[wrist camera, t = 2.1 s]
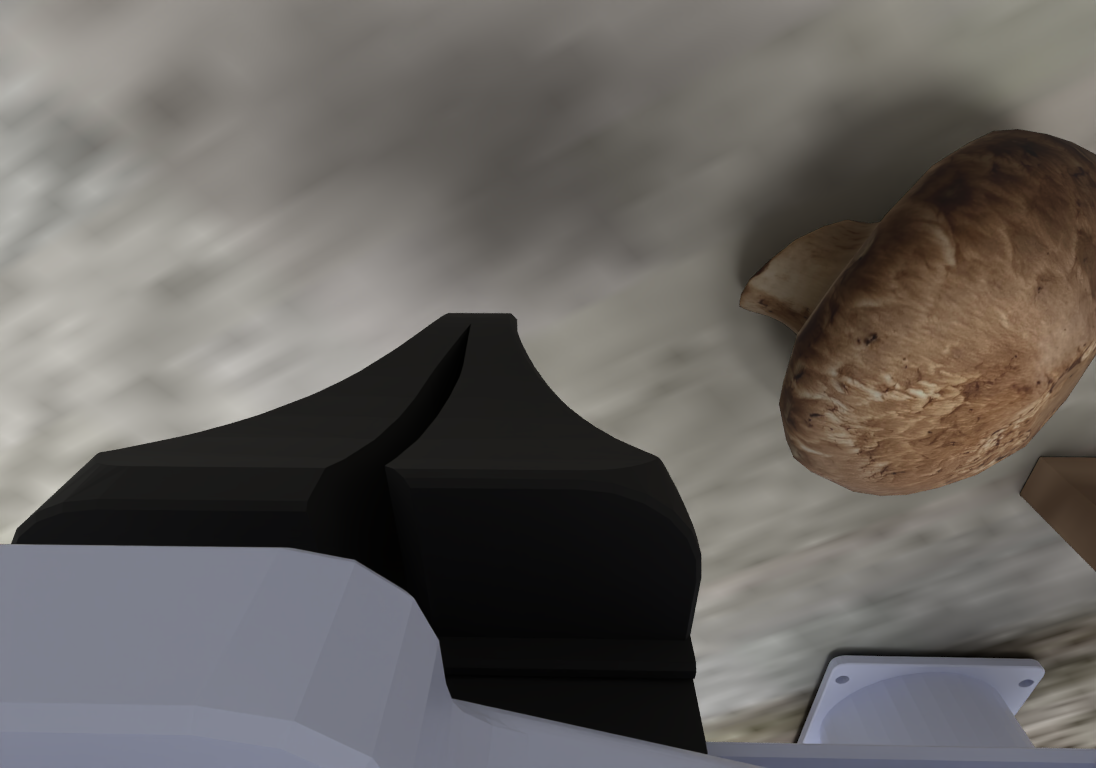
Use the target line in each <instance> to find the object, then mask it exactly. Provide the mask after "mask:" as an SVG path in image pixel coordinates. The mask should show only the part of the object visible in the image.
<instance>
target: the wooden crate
mask: <svg viewBox="0 0 1096 768" xmlns="http://www.w3.org/2000/svg"><path fill="white" fill-rule="evenodd" d="M1020 495H1021V496H1022V497H1023V498H1024V499H1025V500H1026V501H1027V502H1028V503H1029V504H1030V505H1031V506H1032V507H1033V508H1034V510H1035V511H1036V512H1037V513H1038V514H1039V515H1040V516H1041V517H1042V518H1043V519H1044V520H1045V521H1046V522H1047V523H1048V524H1049V525H1050V526H1051V527H1052V528H1053V529H1054V530H1055V531H1056V532H1057V533H1058V534H1059V535H1060V536H1061V537H1062V538H1063V539H1064V540H1065V541H1066V542H1067V543H1068V544H1069V545H1070V546H1071V547H1072V548H1073V549H1074V550H1075V551H1076V552H1077V553H1078V554H1079V555H1080V556H1081V557H1082V558H1083V559H1084V560H1085V561H1086V562H1087V563H1088V564H1089V565H1090V566H1091V567H1092V568H1093V569H1094V570H1095V571H1096V457H1040V458H1039V460H1038V462H1037V464H1036V466H1035V467H1034V469H1033V471H1032V473H1031V475H1030V477H1029V478H1028V480H1027V482H1026V484H1025V486H1024V488H1023V489H1022V491H1021V493H1020Z"/></svg>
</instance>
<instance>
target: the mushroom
mask: <svg viewBox="0 0 1096 768" xmlns="http://www.w3.org/2000/svg"><path fill="white" fill-rule="evenodd" d="M739 305H740V307H742V308H744V309H746V310H749V311H752V312H756V313H759V314H763V315H767V316H770V317H772V318H774V319H776V320H778V321H780V322H782V323H784V324H785V325H786V326H788V327H789V328H790V329H791V330H792V331H793V332H795V333H796V334H797V337H796V340H795V344H794V347H793V351H792V354H791V357H790V361H789V364H788V368H787V371H786V375H785V378H784V381H783V386H782V391H781V396H780V402H779V406H780V411H781V416H782V421H783V426H784V431H785V436H786V440H787V442H788V445H789V447H790V450H791V452H792V455H793V457H794V458H795V459H796V460H797V461H798V462H800V463H801V464H802V465H803V466H805V467H806V468H807V469H808V470H810V471H811V472H813V473H815V474H818V475H820V476H822V477H824V478H826V479H828V480H830V481H832V482H834V483H837V484H839V485H841V486H843V487H845V488H847V489H849V490H851V491H853V492H860V493H866V494H873V495H879V496H887V495H907V494H912V493H917V492H921V491H926V490H930V489H935V488H939V487H942V486H944V485H947V484H950V483H953V482H956V481H959V480H962V479H965V478H968V477H971V476H974V475H977V474H979V473H980V472H982V471H984V470H986V469H987V468H989V467H991V466H992V465H994V464H996V463H998V462H999V461H1001V460H1003V459H1004V458H1006V457H1008V456H1010V455H1011V454H1013V453H1015V452H1016V451H1018V450H1020V449H1022V448H1023V447H1025V446H1026V445H1027V444H1028V443H1029V442H1030V440H1031V439H1032V438H1033V437H1034V436H1035V435H1036V434H1037V432H1038V431H1039V430H1040V429H1041V428H1042V427H1043V426H1044V424H1045V423H1046V422H1047V421H1048V420H1049V419H1050V418H1051V416H1052V415H1053V414H1054V413H1055V412H1056V411H1057V410H1058V408H1059V407H1060V406H1061V405H1062V404H1063V403H1064V402H1065V400H1066V399H1067V398H1068V396H1069V395H1070V393H1071V392H1072V390H1073V389H1074V387H1075V386H1076V384H1077V383H1078V381H1079V380H1080V378H1081V376H1082V375H1083V373H1084V372H1085V370H1086V369H1087V367H1088V366H1089V364H1090V363H1091V361H1092V360H1093V358H1094V357H1095V355H1096V154H1094V153H1092V152H1090V151H1088V150H1086V149H1084V148H1082V147H1080V146H1078V145H1076V144H1074V143H1072V142H1070V141H1066V140H1063V139H1060V138H1057V137H1054V136H1051V135H1048V134H1043V133H1037V132H1031V131H1025V130H1019V129H1014V130H1002V131H993V132H991V133H989V134H986V135H984V136H982V137H980V138H978V139H976V140H974V141H971V142H969V143H968V144H966V145H965V146H963V147H961V148H960V149H958V150H957V151H955V152H953V153H952V154H950V155H949V156H947V157H945V158H944V159H942V160H941V161H939V162H937V163H936V164H934V165H933V166H932V167H931V168H930V169H929V170H928V171H927V172H926V173H925V174H924V175H923V176H922V177H921V178H920V179H919V180H918V181H917V182H916V183H915V184H914V186H913V187H912V188H911V189H910V190H909V191H908V192H907V193H906V194H905V195H904V196H903V197H902V198H901V199H900V200H899V201H898V202H897V203H896V204H895V206H894V207H893V208H892V209H891V210H890V211H889V212H888V213H887V214H886V215H885V216H884V218H883V219H882V220H881V221H880V222H876V223H872V224H871V223H865V222H858V221H851V220H844V221H841V222H837V223H834V224H830V225H826V226H823V227H821V228H819V229H817V230H815V231H813V232H811V233H809V234H807V235H804V236H802V237H800V238H798V239H796V240H795V241H793V242H792V243H791V244H789V245H788V246H787V247H786V248H784V249H783V250H782V251H781V252H779V253H778V254H777V255H776V256H774V257H773V258H772V259H770V260H769V261H768V262H767V263H766V264H765V265H764V266H763V267H762V268H761V269H760V270H759V271H758V272H757V273H756V274H755V275H754V276H753V277H752V278H751V279H750V280H749V282H748V283H747V285H746V287H745V288H744V290H743V292H742V294H741V298H740V304H739Z"/></svg>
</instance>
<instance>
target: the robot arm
mask: <svg viewBox="0 0 1096 768" xmlns="http://www.w3.org/2000/svg"><path fill="white" fill-rule="evenodd" d="M700 582H701V551H700V548H699V544H698V539H697V536H696V533H695V530H694V527H693V524H692V522H691V519H690V517H689V515H688V512H687V510H686V508H685V505H684V503H683V501H682V499H681V497H680V495H679V492H678V490H677V488H676V486H675V484H674V482H673V481H672V479H671V477H670V475H669V473H668V471H667V469H666V468H665V466H664V464H663V462H662V461H661V460H660V458H659V457H657V456H654V455H652V454H650V453H647V452H645V451H643V450H640V449H638V448H636V447H634V446H631V445H629V444H627V443H624V442H622V441H620V440H618V439H616V438H614V437H612V436H610V435H609V434H607V433H605V432H603V431H602V430H600V429H598V428H597V427H595V426H593V425H592V424H590V423H589V422H587V421H586V420H584V419H583V418H582V417H580V416H579V415H578V414H577V413H575V412H574V411H573V410H572V409H570V408H569V407H568V406H567V405H566V404H565V403H564V402H563V401H562V400H561V399H560V398H559V397H558V396H557V395H556V394H555V393H554V392H553V391H552V390H551V388H550V387H549V386H548V385H547V383H546V382H545V381H544V380H543V378H542V377H541V375H540V374H539V372H538V371H537V370H536V368H535V367H534V365H533V363H532V362H531V360H530V358H529V356H528V354H527V353H526V351H525V349H524V347H523V345H522V342H521V340H520V338H519V335H518V332H517V319H516V318H515V317H514V316H513V315H512V314H511V313H448V314H446V315H444V316H442V317H440V318H439V319H437V320H436V321H435V322H433V323H432V324H430V325H429V326H428V327H426V328H425V329H423V330H422V331H421V332H419V333H418V334H416V335H415V336H414V337H412V338H411V339H409V340H408V341H406V342H405V343H404V344H402V345H401V346H399V347H398V348H396V349H395V350H393V351H392V352H390V353H389V354H387V355H385V356H384V357H382V358H381V359H379V360H377V361H376V362H374V363H372V364H371V365H369V366H368V367H366V368H364V369H363V370H361V371H359V372H358V373H356V374H354V375H352V376H350V377H348V378H346V379H344V380H343V381H341V382H339V383H336V384H334V385H332V386H330V387H328V388H326V389H324V390H322V391H320V392H317V393H315V394H313V395H310V396H308V397H305V398H303V399H300V400H297V401H295V402H292V403H290V404H287V405H284V406H282V407H279V408H276V409H274V410H271V411H268V412H266V413H263V414H260V415H257V416H254V417H251V418H247V419H244V420H241V421H238V422H234V423H231V424H228V425H224V426H220V427H216V428H213V429H209V430H205V431H202V432H198V433H194V434H189V435H185V436H181V437H176V438H172V439H167V440H162V441H157V442H152V443H147V444H142V445H137V446H132V447H127V448H122V449H117V450H112V451H106V452H100V453H98V454H97V455H95V456H94V457H93V458H92V459H91V460H90V461H89V462H88V463H87V464H86V465H85V466H84V467H83V468H81V469H80V470H79V471H78V472H77V473H76V474H75V475H74V476H73V477H72V478H71V479H70V480H69V481H67V482H66V483H65V484H64V485H63V486H62V487H61V488H60V489H59V490H58V491H57V492H56V493H55V494H54V495H52V496H51V497H50V498H49V499H48V500H47V501H46V502H45V503H44V504H43V505H42V506H41V507H40V508H39V509H37V510H36V511H35V512H34V513H33V514H32V515H31V516H30V517H29V518H28V519H27V520H26V521H25V522H24V523H22V524H21V525H20V526H19V527H18V528H17V530H16V532H15V535H14V538H13V540H12V543H11V544H0V768H1096V749H1079V748H1035V747H1034V745H1033V744H1032V742H1031V741H1030V739H1029V738H1028V736H1027V734H1026V733H1025V731H1024V730H1023V728H1022V727H1021V725H1020V724H1019V722H1018V721H1017V719H1016V718H1015V715H1016V713H1017V712H1018V710H1019V709H1020V708H1021V706H1022V705H1023V704H1024V702H1025V701H1026V699H1027V698H1028V697H1029V695H1030V694H1031V693H1032V691H1033V690H1034V688H1035V687H1036V686H1037V684H1038V683H1039V681H1040V680H1041V679H1042V677H1043V676H1044V674H1045V670H1044V668H1043V667H1042V665H1041V664H1040V663H1039V662H1038V661H1037V660H1034V659H1018V658H963V657H908V656H852V655H843V656H838V657H835V658H833V659H832V660H831V661H830V663H829V665H828V667H827V670H826V672H825V675H824V677H823V680H822V682H821V685H820V687H819V690H818V692H817V695H816V697H815V700H814V702H813V705H812V707H811V710H810V712H809V715H808V717H807V720H806V722H805V725H804V727H803V730H802V732H801V735H800V737H799V740H798V742H797V743H750V742H706V741H705V736H704V731H703V726H702V722H701V717H700V712H699V707H698V702H697V697H696V692H695V687H694V682H693V679H695V675H696V661H695V656H694V651H693V646H692V642H691V637H690V633H691V628H692V623H693V618H694V613H695V607H696V602H697V597H698V592H699V587H700Z"/></svg>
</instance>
